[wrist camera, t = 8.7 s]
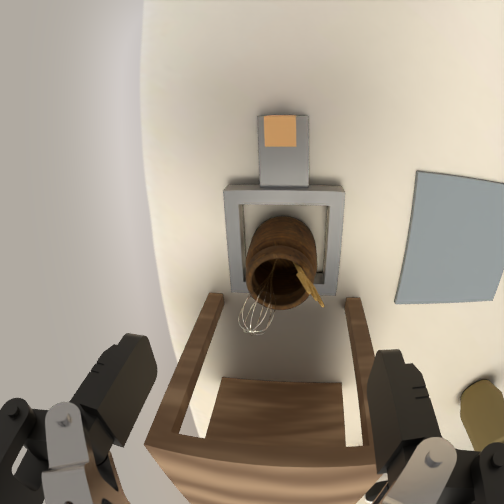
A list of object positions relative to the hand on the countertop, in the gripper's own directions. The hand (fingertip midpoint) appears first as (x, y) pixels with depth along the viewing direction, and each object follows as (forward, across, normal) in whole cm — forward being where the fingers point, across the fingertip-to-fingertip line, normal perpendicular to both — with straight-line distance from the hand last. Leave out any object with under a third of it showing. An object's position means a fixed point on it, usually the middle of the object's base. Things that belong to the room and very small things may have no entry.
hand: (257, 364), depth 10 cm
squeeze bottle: (+20, -33, +29) cm, 48 cm away
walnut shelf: (+19, 0, +17) cm, 26 cm away
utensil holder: (+19, 0, +4) cm, 20 cm away
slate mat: (+19, -19, +3) cm, 27 cm away
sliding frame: (+19, 0, 0) cm, 19 cm away
